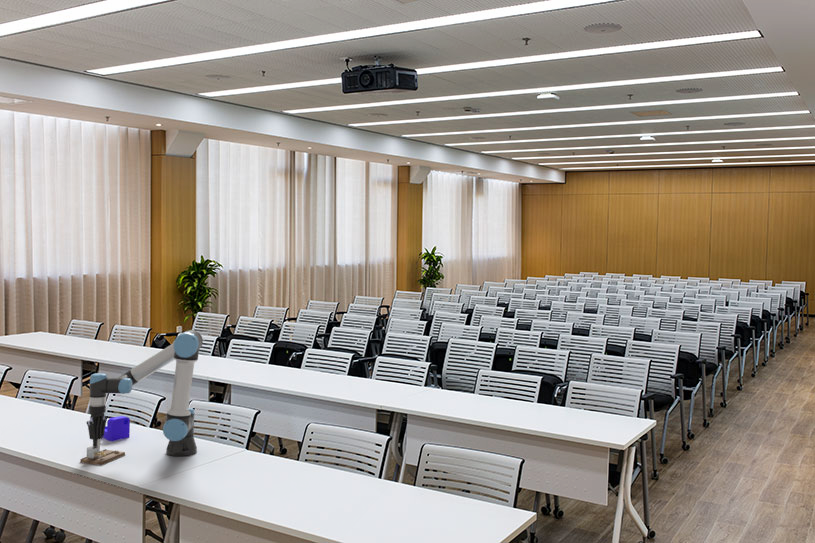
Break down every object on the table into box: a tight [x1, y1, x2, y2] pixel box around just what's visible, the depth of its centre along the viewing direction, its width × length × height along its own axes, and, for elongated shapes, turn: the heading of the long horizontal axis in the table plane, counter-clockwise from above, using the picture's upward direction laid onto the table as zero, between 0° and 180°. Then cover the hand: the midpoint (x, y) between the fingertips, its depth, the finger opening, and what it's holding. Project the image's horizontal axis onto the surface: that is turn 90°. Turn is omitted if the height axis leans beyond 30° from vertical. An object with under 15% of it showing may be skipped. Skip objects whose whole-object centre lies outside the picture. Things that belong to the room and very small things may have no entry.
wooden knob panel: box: [79, 448, 126, 466], centre depth 358 cm, size 12×18×3 cm, turn 165°
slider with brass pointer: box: [86, 445, 106, 459], centre depth 353 cm, size 9×4×5 cm, turn 75°
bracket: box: [102, 415, 131, 442], centre depth 399 cm, size 18×11×12 cm, turn 57°
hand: (96, 452), depth 356 cm, fingers closed
